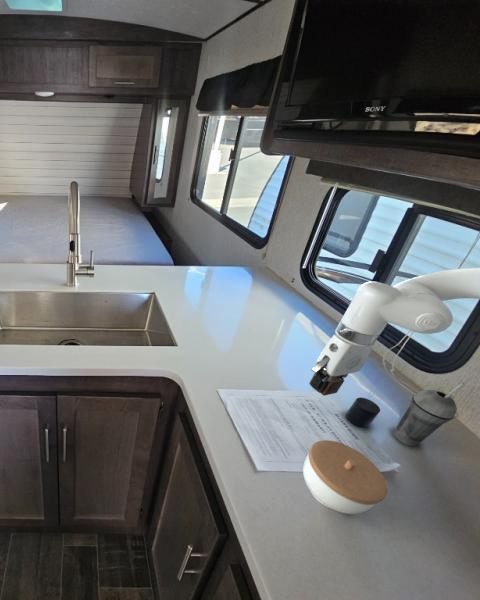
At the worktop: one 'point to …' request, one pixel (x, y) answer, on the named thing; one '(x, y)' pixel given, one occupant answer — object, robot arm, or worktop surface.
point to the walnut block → (331, 384)
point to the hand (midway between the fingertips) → (323, 386)
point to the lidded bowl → (343, 478)
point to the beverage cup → (425, 415)
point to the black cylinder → (362, 412)
